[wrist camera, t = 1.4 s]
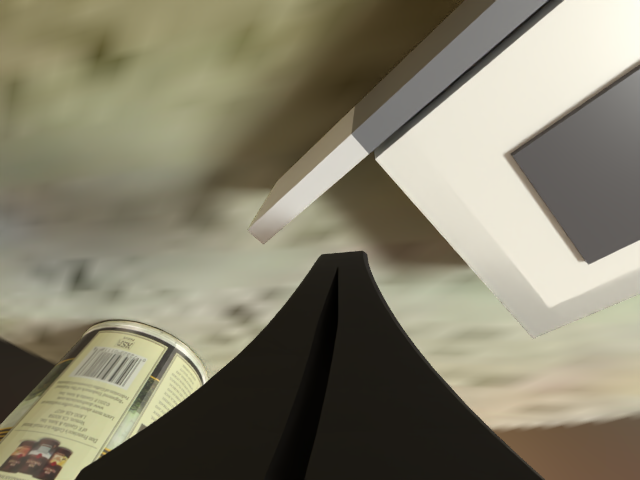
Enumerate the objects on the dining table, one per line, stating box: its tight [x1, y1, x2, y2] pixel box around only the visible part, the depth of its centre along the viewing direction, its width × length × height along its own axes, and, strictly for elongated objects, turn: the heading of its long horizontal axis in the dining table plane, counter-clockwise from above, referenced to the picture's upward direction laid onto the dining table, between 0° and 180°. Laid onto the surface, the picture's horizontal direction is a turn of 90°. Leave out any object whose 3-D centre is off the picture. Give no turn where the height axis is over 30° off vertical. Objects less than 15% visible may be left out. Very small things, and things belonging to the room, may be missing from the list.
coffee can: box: [0, 321, 208, 480], centre depth 20 cm, size 10×10×14 cm
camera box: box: [374, 0, 640, 339], centre depth 11 cm, size 10×14×5 cm
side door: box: [247, 0, 548, 244], centre depth 10 cm, size 1×19×5 cm, turn 134°
